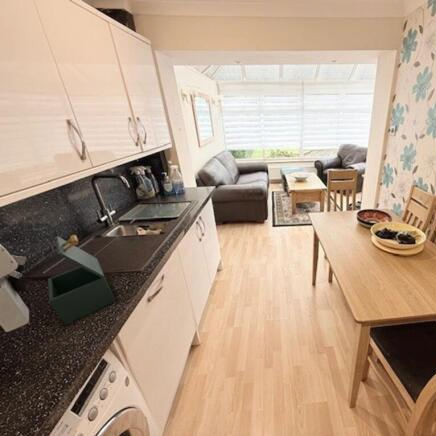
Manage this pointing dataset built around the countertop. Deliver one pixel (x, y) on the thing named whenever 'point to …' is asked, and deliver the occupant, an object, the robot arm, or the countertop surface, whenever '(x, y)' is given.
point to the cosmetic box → (11, 307)
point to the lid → (77, 255)
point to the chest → (78, 293)
